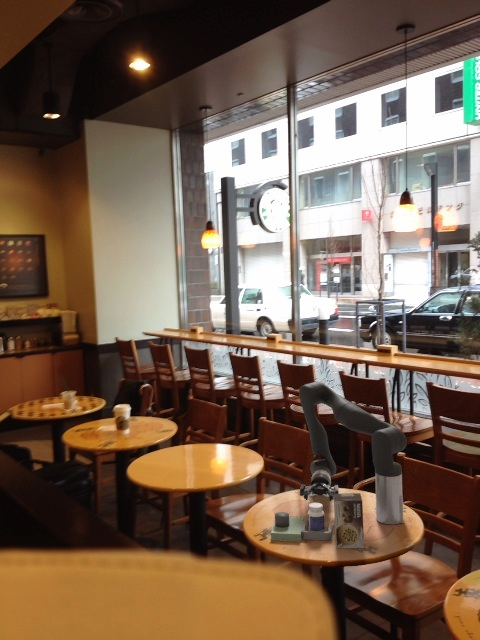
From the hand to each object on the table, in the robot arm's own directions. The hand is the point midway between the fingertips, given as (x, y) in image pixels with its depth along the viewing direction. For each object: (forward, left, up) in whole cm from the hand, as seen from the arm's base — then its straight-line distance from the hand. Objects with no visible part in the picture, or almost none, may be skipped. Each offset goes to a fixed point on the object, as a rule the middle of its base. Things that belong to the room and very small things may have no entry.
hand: (318, 498), depth 210 cm
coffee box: (-11, +17, -9) cm, 22 cm away
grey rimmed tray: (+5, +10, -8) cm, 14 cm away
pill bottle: (0, +10, -9) cm, 13 cm away
